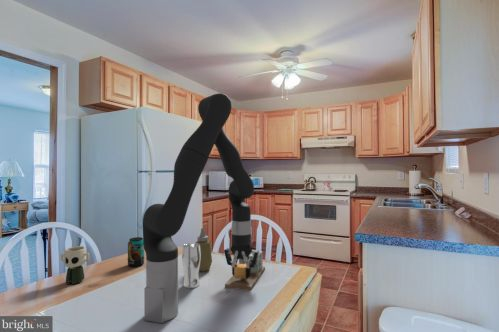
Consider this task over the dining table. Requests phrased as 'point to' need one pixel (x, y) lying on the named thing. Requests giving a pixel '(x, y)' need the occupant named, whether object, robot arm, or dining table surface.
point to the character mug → (75, 263)
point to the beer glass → (191, 264)
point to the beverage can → (135, 252)
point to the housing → (251, 281)
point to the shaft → (240, 270)
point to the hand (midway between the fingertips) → (241, 276)
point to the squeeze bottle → (204, 251)
